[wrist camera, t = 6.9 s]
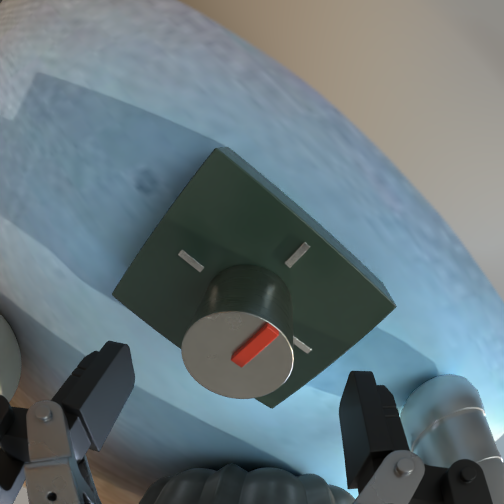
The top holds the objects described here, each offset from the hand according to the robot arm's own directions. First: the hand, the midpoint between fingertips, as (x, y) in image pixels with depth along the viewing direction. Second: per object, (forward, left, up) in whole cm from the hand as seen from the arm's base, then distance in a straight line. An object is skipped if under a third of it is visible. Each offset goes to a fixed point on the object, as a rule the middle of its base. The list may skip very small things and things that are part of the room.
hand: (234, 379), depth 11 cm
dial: (0, 0, -6) cm, 6 cm away
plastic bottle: (+9, +15, -9) cm, 20 cm away
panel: (0, 0, -9) cm, 9 cm away
